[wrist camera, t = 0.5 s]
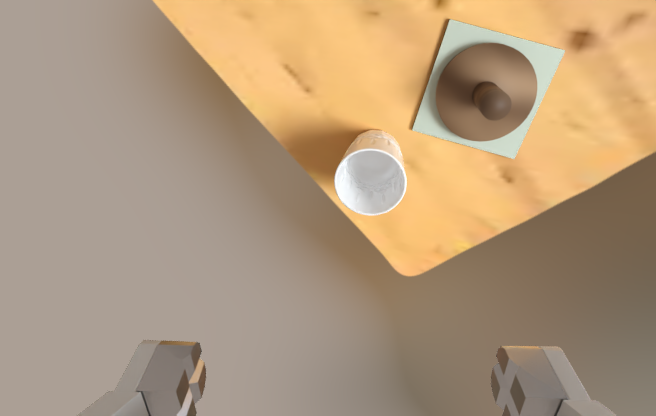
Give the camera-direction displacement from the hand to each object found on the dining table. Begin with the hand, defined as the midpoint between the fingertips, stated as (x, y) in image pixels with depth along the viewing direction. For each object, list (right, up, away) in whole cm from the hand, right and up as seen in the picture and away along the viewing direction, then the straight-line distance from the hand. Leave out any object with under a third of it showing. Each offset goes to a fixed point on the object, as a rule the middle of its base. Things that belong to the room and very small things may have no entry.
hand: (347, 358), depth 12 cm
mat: (+18, +18, +39) cm, 46 cm away
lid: (+18, +18, +38) cm, 46 cm away
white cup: (+6, +11, +44) cm, 46 cm away
